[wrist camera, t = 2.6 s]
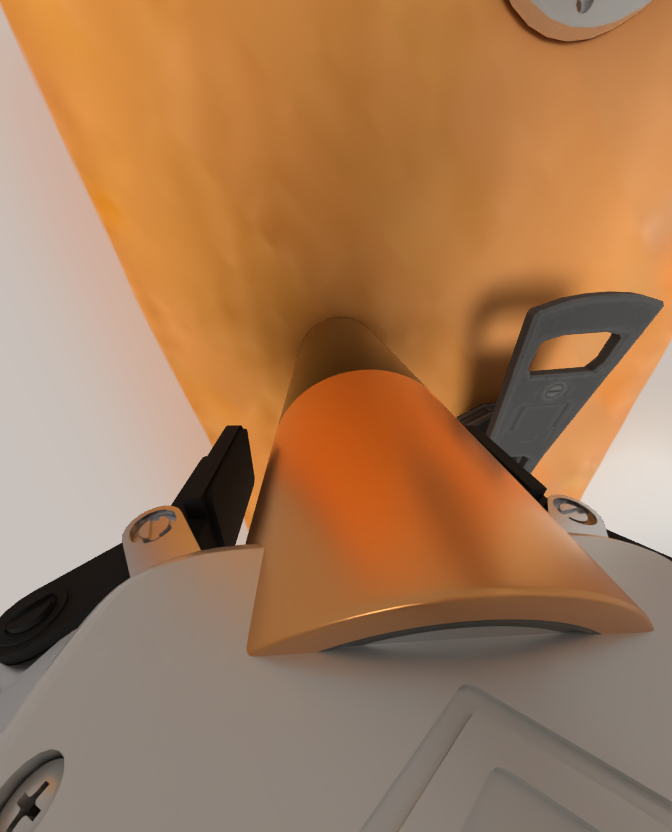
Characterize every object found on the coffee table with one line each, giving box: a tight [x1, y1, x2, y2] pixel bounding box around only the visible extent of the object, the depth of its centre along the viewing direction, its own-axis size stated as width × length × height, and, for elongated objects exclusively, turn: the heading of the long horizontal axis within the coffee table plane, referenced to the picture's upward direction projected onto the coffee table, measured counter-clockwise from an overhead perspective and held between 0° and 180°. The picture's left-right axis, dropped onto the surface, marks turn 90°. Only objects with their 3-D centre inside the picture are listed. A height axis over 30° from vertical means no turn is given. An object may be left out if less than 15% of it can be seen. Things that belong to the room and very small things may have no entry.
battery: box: [245, 318, 654, 656], centre depth 12 cm, size 7×7×20 cm
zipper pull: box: [457, 292, 664, 474], centre depth 23 cm, size 9×7×25 cm
